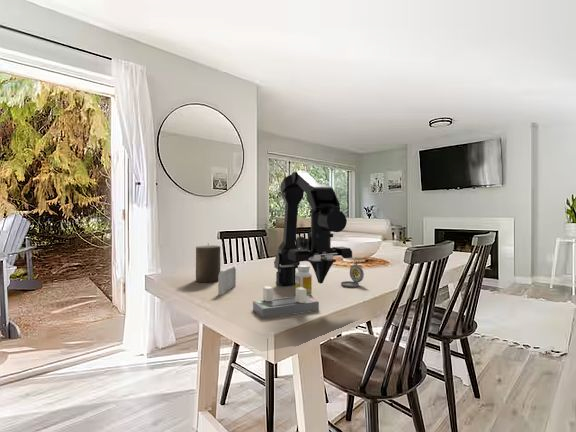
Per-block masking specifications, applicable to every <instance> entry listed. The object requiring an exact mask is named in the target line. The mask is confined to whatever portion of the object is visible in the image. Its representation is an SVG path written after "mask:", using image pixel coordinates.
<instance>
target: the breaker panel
mask: <svg viewBox="0 0 576 432" xmlns="http://www.w3.org/2000/svg"><path fill="white" fill-rule="evenodd" d="M252 310H253V312H255V313H256V314H257V315H258V316H259V317H260V318H261V319H270V318H276V317H282V316H283V317H284V316H289V315H290V314H291V315H296V314H295V313H297V314H302V313H301V312H304V313H310V312H309V311H311V312H316V311H315V310H318V311H319V310H320V302H319V301H318V300H316V299H315V298H312V297H311V296H307V298H306V302H304V303H299V302H298V301H296V295H294V296H285V297H278V298H273V301H268V302H266V301H265V300H264V299H261V300H253V301H252Z"/></svg>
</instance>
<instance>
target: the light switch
mask: <svg viewBox="0 0 576 432" xmlns="http://www.w3.org/2000/svg"><path fill="white" fill-rule="evenodd" d="M236 272H237V269H236V266H234V265H232V266H231V265H230V266H228V267H225V268H223V269H220V272H219V275H218V281H217V284H218V286H217V287H218V289H217V291H218V295H220V296H224V295H225V293H226V292H228V291H229V290H231V289H232V288H233V289H234V288H235V287H236V286H237V285H236V284H237V283H236V282H237V280H236V277H237V276H236V275H237V274H236Z"/></svg>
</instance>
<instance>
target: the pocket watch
mask: <svg viewBox="0 0 576 432" xmlns="http://www.w3.org/2000/svg"><path fill="white" fill-rule="evenodd" d="M357 260H358V261H357ZM353 261H354V263H355V264H353V265H352V266H351V267H350V269H349V276H350V278H351V280H352V281H351V280H347V281H341V282H340V285H341V286H342V287H345V288H356V287H359V284H360V283H361V282H362V281H363V280H364V276H365V273H364V269H363V268H362V267H361V266H360V265H358V264H359V261H360V259H359V258H355V259H354V260H353Z"/></svg>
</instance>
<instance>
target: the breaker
mask: <svg viewBox="0 0 576 432" xmlns="http://www.w3.org/2000/svg"><path fill="white" fill-rule="evenodd" d="M273 299H274V288H273V287H271V286H270V285H266V286H262V300H265V301H266V302H268V301H273Z"/></svg>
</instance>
